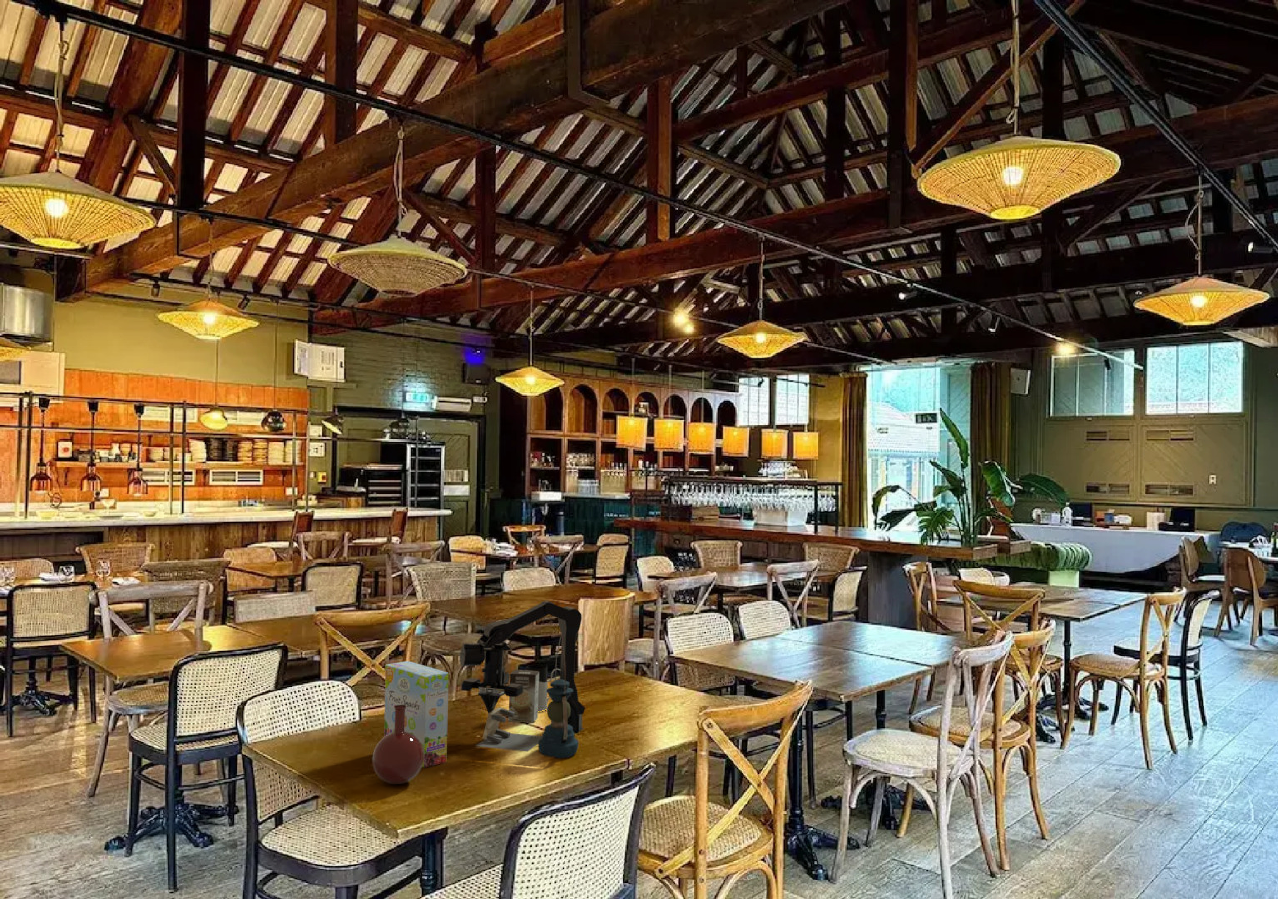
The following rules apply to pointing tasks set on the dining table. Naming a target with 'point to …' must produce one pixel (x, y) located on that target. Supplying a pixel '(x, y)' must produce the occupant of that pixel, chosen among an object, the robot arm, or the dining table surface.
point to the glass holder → (541, 684)
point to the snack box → (419, 706)
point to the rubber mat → (513, 742)
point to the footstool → (496, 725)
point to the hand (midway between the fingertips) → (490, 715)
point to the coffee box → (525, 696)
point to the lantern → (558, 721)
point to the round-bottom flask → (398, 753)
